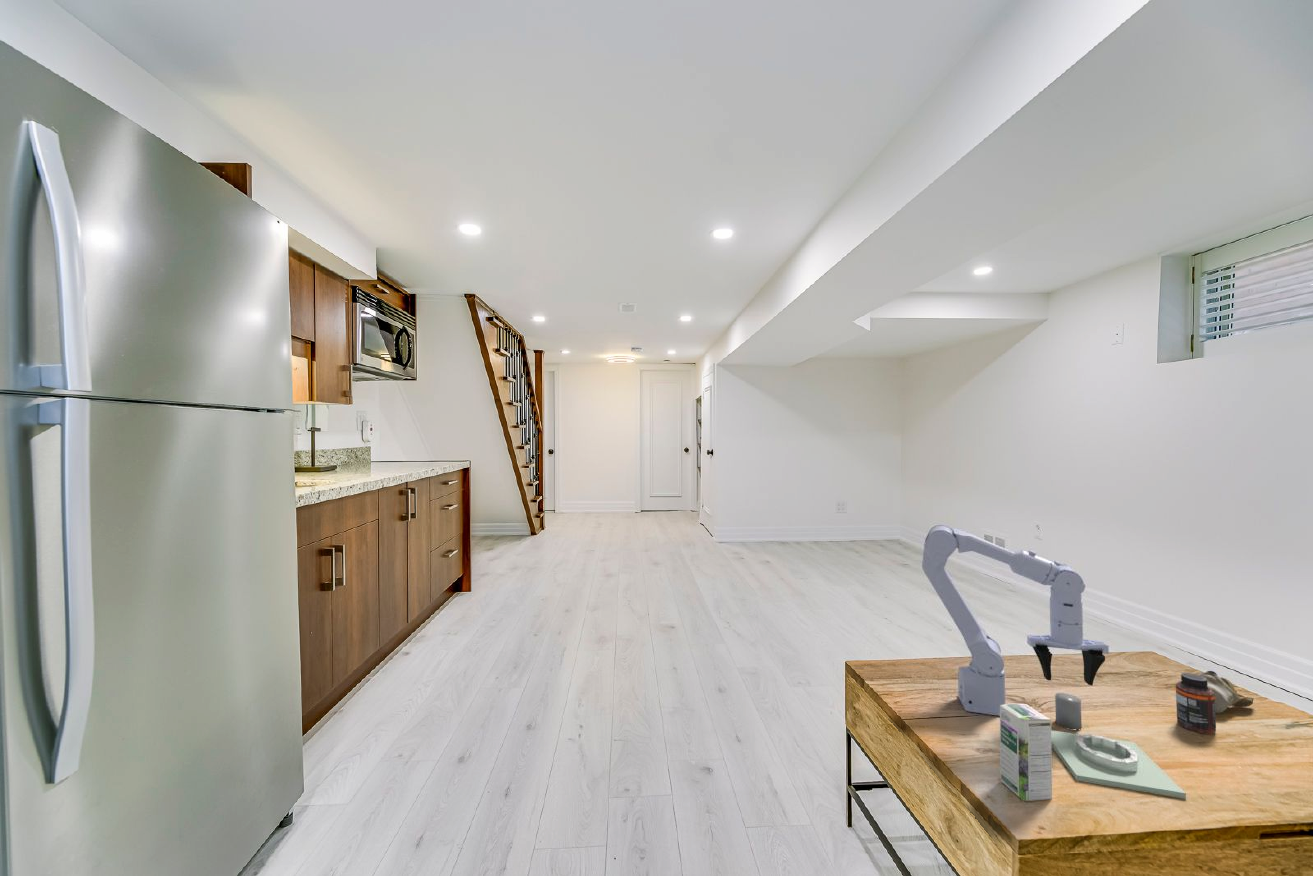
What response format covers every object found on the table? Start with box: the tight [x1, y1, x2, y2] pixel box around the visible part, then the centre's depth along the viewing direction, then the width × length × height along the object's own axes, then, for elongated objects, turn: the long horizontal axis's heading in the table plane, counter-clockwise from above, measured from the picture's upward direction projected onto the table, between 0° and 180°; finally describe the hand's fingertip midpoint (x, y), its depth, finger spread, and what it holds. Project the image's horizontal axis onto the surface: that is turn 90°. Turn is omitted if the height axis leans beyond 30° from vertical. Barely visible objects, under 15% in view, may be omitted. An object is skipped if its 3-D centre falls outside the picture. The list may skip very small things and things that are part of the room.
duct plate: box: [1051, 729, 1187, 800], centre depth 99 cm, size 16×16×1 cm
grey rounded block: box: [1054, 692, 1083, 731], centre depth 113 cm, size 4×5×6 cm
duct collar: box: [1076, 733, 1139, 773], centre depth 99 cm, size 9×9×2 cm
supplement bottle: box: [1175, 672, 1217, 735], centre depth 111 cm, size 6×6×11 cm
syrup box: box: [999, 703, 1053, 802], centre depth 92 cm, size 6×6×14 cm
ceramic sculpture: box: [1199, 670, 1254, 714], centre depth 120 cm, size 11×9×15 cm
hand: (1067, 680), depth 113 cm, fingers open, 7 cm apart
